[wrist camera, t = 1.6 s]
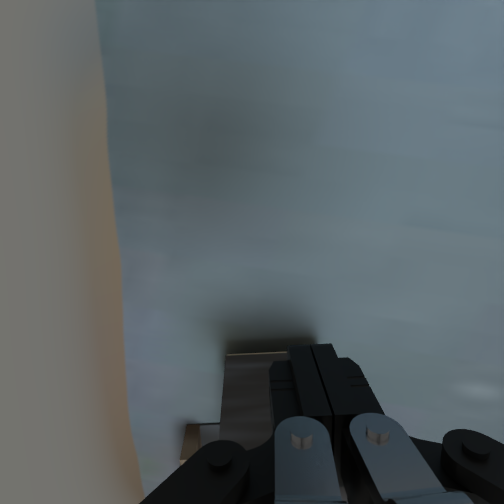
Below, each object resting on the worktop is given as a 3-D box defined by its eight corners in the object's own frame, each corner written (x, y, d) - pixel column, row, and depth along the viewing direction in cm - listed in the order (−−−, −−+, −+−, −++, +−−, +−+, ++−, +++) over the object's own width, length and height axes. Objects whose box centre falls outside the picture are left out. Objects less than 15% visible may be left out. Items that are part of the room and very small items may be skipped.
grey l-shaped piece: (220, 340, 31) (201, 501, 17) (327, 335, 31) (395, 491, 17) (228, 444, 34) (217, 654, 20) (325, 439, 34) (382, 645, 20)
